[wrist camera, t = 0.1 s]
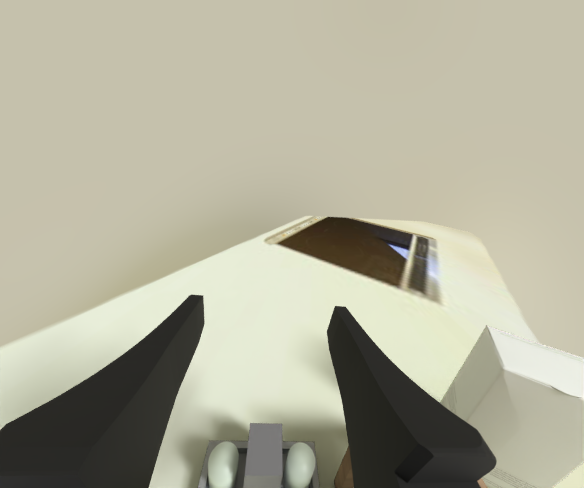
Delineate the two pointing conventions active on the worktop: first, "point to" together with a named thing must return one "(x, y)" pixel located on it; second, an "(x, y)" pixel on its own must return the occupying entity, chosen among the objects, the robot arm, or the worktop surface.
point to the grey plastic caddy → (260, 462)
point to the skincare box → (522, 408)
